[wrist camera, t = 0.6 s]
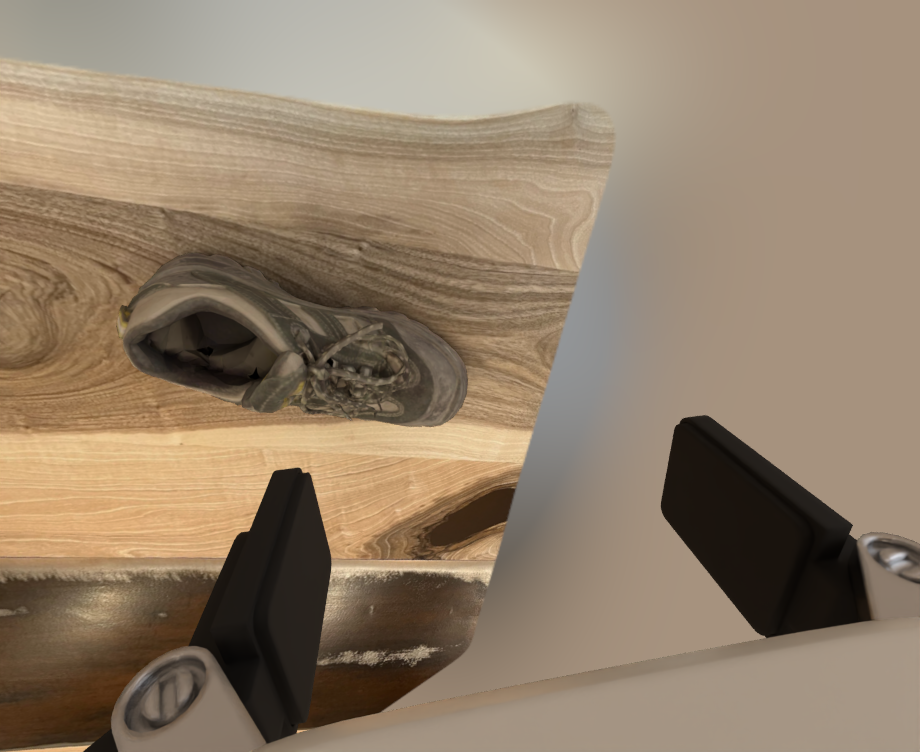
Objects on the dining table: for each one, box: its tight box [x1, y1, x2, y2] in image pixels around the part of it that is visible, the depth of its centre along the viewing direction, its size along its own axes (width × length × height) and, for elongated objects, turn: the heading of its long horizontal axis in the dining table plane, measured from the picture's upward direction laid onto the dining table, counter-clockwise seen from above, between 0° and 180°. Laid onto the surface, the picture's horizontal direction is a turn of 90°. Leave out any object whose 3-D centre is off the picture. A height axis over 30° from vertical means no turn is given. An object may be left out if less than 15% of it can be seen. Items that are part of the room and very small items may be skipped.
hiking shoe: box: [116, 253, 468, 427], centre depth 27 cm, size 9×21×12 cm, turn 67°
